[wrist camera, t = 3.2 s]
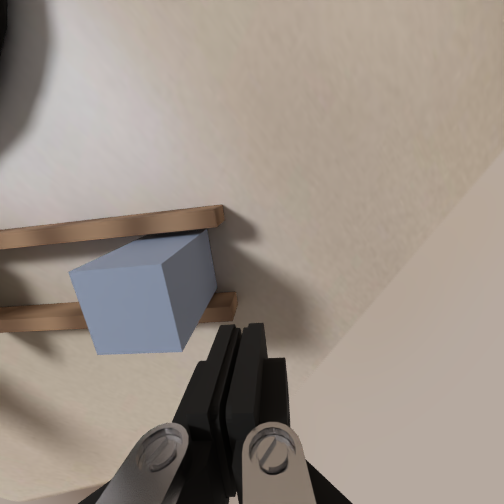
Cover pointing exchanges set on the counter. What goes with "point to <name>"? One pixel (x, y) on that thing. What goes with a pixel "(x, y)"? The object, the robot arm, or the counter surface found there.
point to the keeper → (147, 293)
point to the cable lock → (3, 21)
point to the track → (121, 226)
